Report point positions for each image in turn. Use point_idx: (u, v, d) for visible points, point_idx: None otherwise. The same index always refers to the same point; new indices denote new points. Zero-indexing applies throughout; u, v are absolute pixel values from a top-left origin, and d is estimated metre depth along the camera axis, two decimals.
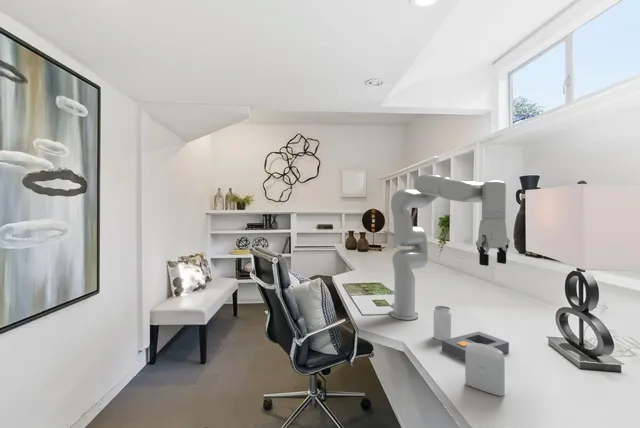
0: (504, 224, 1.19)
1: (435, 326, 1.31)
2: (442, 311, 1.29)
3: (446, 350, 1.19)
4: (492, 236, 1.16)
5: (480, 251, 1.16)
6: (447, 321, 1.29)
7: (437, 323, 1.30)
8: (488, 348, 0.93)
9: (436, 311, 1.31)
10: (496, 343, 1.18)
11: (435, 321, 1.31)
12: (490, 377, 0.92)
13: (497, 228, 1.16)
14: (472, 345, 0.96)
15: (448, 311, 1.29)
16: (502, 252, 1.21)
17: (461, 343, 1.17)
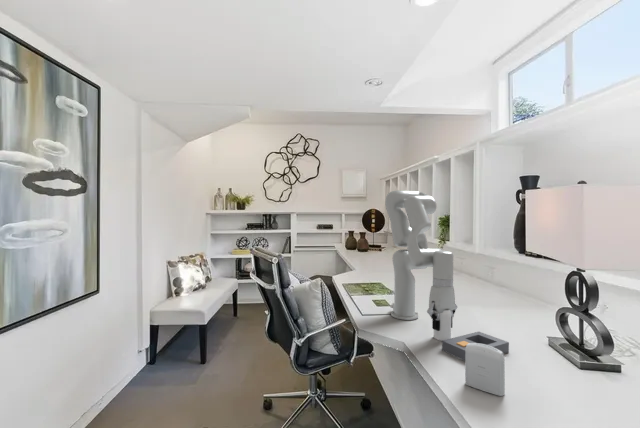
0: (452, 290, 1.31)
1: None
2: None
3: (446, 350, 1.19)
4: (440, 303, 1.28)
5: (432, 317, 1.29)
6: (447, 321, 1.29)
7: None
8: (488, 348, 0.93)
9: None
10: (496, 343, 1.18)
11: None
12: (489, 377, 0.92)
13: (445, 295, 1.29)
14: (472, 345, 0.96)
15: (448, 311, 1.29)
16: None
17: (461, 343, 1.17)
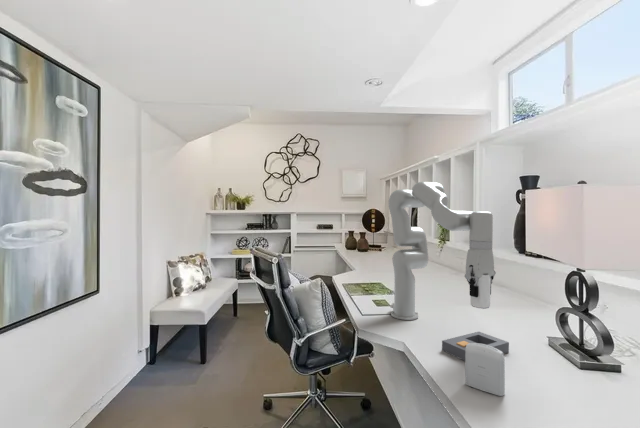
0: (491, 254, 1.21)
1: None
2: None
3: (446, 350, 1.19)
4: (479, 266, 1.18)
5: (470, 283, 1.19)
6: (486, 287, 1.18)
7: None
8: (488, 348, 0.93)
9: (474, 276, 1.20)
10: (496, 343, 1.18)
11: None
12: (490, 377, 0.92)
13: (484, 258, 1.19)
14: (472, 345, 0.96)
15: (487, 276, 1.19)
16: None
17: (461, 343, 1.17)
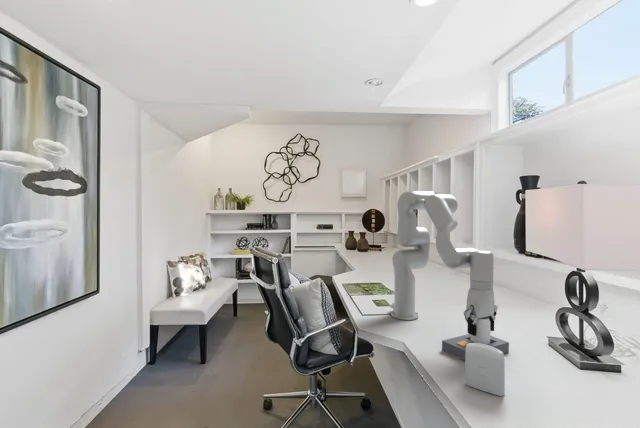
0: (492, 293, 1.21)
1: (473, 336, 1.20)
2: (481, 320, 1.19)
3: (446, 350, 1.19)
4: (479, 307, 1.18)
5: (468, 321, 1.18)
6: (486, 331, 1.18)
7: None
8: (488, 348, 0.93)
9: None
10: (496, 343, 1.18)
11: None
12: (490, 377, 0.92)
13: (485, 298, 1.18)
14: (472, 345, 0.96)
15: (487, 320, 1.19)
16: (490, 319, 1.23)
17: (461, 343, 1.17)
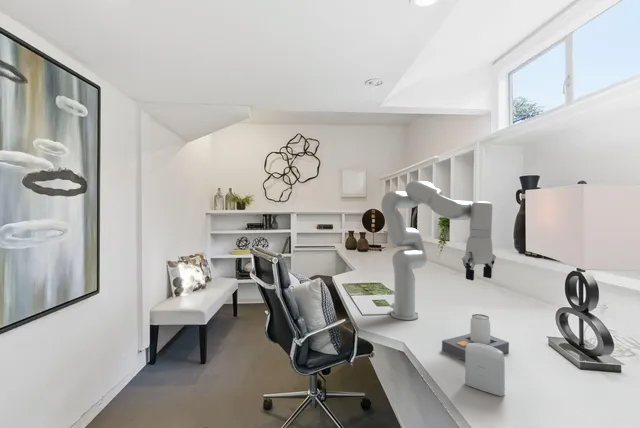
0: (490, 242, 1.27)
1: (473, 336, 1.20)
2: (481, 320, 1.19)
3: (446, 350, 1.19)
4: (477, 253, 1.25)
5: (466, 267, 1.26)
6: (486, 331, 1.18)
7: (475, 333, 1.20)
8: (488, 348, 0.93)
9: (474, 320, 1.20)
10: (496, 343, 1.18)
11: (473, 331, 1.20)
12: (490, 377, 0.92)
13: (483, 246, 1.25)
14: (472, 345, 0.96)
15: (487, 320, 1.19)
16: (488, 267, 1.30)
17: (461, 343, 1.17)
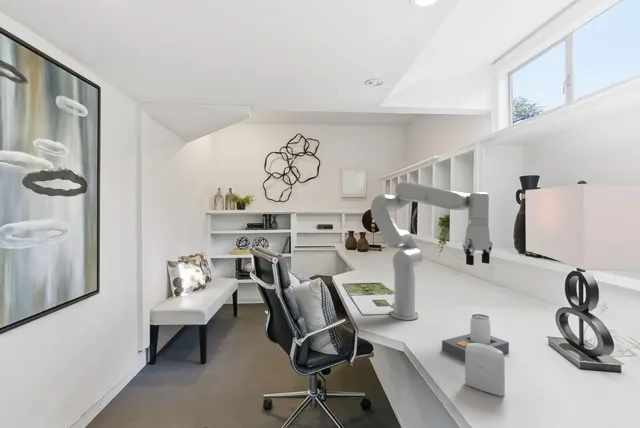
0: (487, 229, 1.38)
1: (473, 336, 1.20)
2: (481, 320, 1.19)
3: (446, 350, 1.19)
4: (476, 240, 1.34)
5: (466, 253, 1.35)
6: (486, 331, 1.18)
7: (475, 333, 1.20)
8: (488, 348, 0.93)
9: (474, 320, 1.20)
10: (496, 343, 1.18)
11: (473, 331, 1.20)
12: (490, 377, 0.92)
13: (481, 233, 1.35)
14: (472, 345, 0.96)
15: (487, 320, 1.19)
16: (486, 253, 1.40)
17: (461, 343, 1.17)
